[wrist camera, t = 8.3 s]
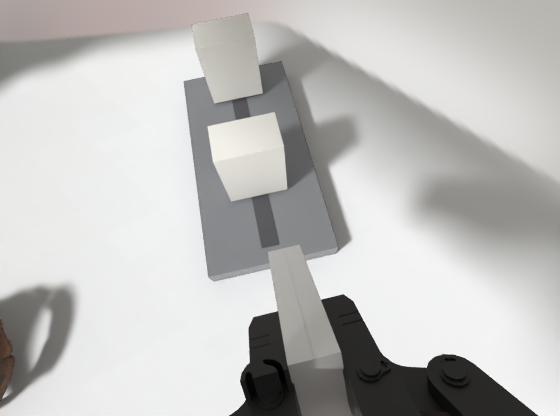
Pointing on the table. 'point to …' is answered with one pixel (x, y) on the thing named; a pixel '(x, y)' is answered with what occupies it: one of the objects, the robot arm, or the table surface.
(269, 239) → the switch plate
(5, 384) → the brown hollow rounded piece
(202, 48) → the switch
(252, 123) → the switch
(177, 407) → the table surface
